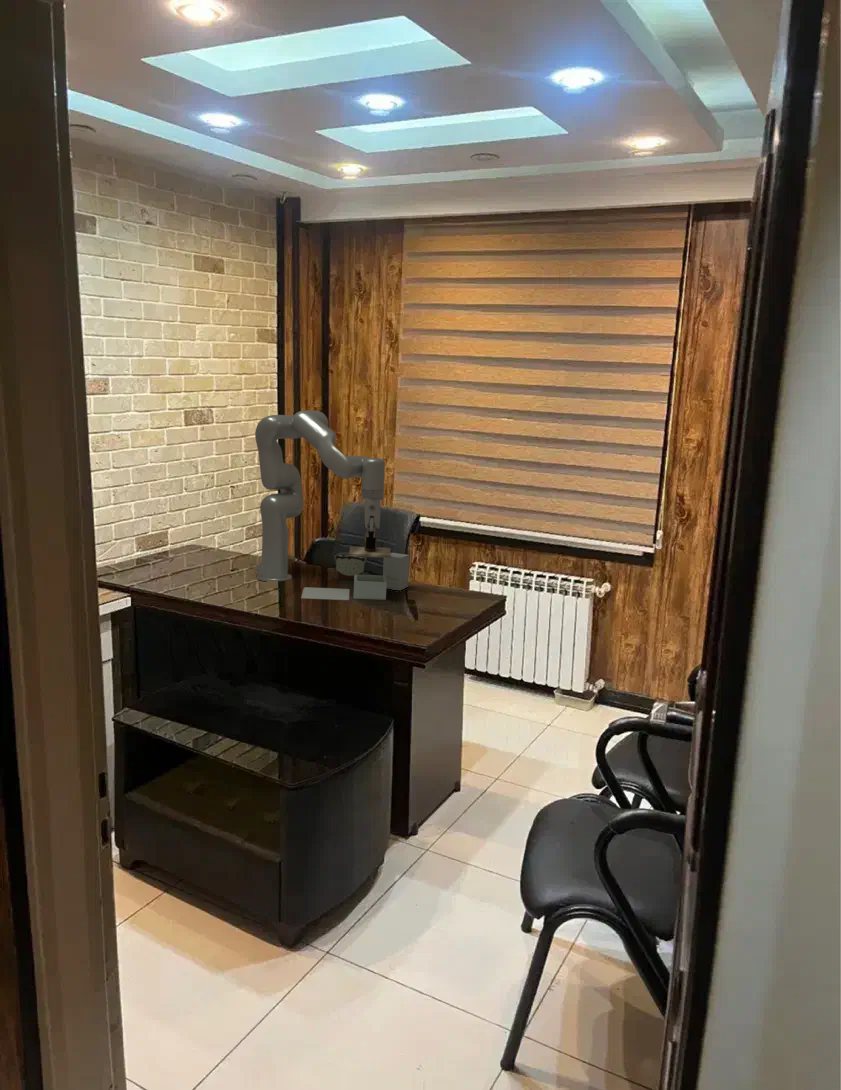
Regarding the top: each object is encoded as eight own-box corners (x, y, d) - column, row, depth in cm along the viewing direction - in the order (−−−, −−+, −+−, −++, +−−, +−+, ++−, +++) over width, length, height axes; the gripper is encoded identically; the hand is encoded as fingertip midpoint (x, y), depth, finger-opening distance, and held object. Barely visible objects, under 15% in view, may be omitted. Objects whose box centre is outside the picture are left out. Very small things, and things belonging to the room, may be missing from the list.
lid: (349, 555, 273) (350, 535, 272) (350, 548, 287) (350, 529, 286) (391, 557, 274) (392, 537, 273) (389, 550, 288) (390, 531, 287)
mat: (300, 599, 274) (301, 598, 274) (304, 588, 290) (304, 587, 290) (348, 601, 275) (348, 599, 275) (349, 590, 291) (349, 589, 291)
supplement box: (408, 588, 300) (410, 554, 298) (399, 592, 293) (401, 557, 291) (390, 585, 303) (392, 552, 301) (381, 589, 296) (383, 555, 294)
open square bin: (353, 600, 278) (354, 581, 277) (353, 592, 289) (354, 574, 288) (385, 601, 279) (386, 582, 278) (384, 593, 290) (385, 575, 288)
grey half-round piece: (368, 579, 311) (369, 553, 309) (365, 582, 305) (366, 556, 303) (336, 577, 312) (337, 551, 310) (333, 580, 306) (334, 554, 304)
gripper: (384, 497, 270) (381, 552, 273) (383, 492, 286) (380, 543, 289) (361, 496, 269) (359, 551, 272) (361, 491, 285) (359, 543, 289)
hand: (370, 547), depth 281 cm, fingers closed on lid, 4 cm apart
